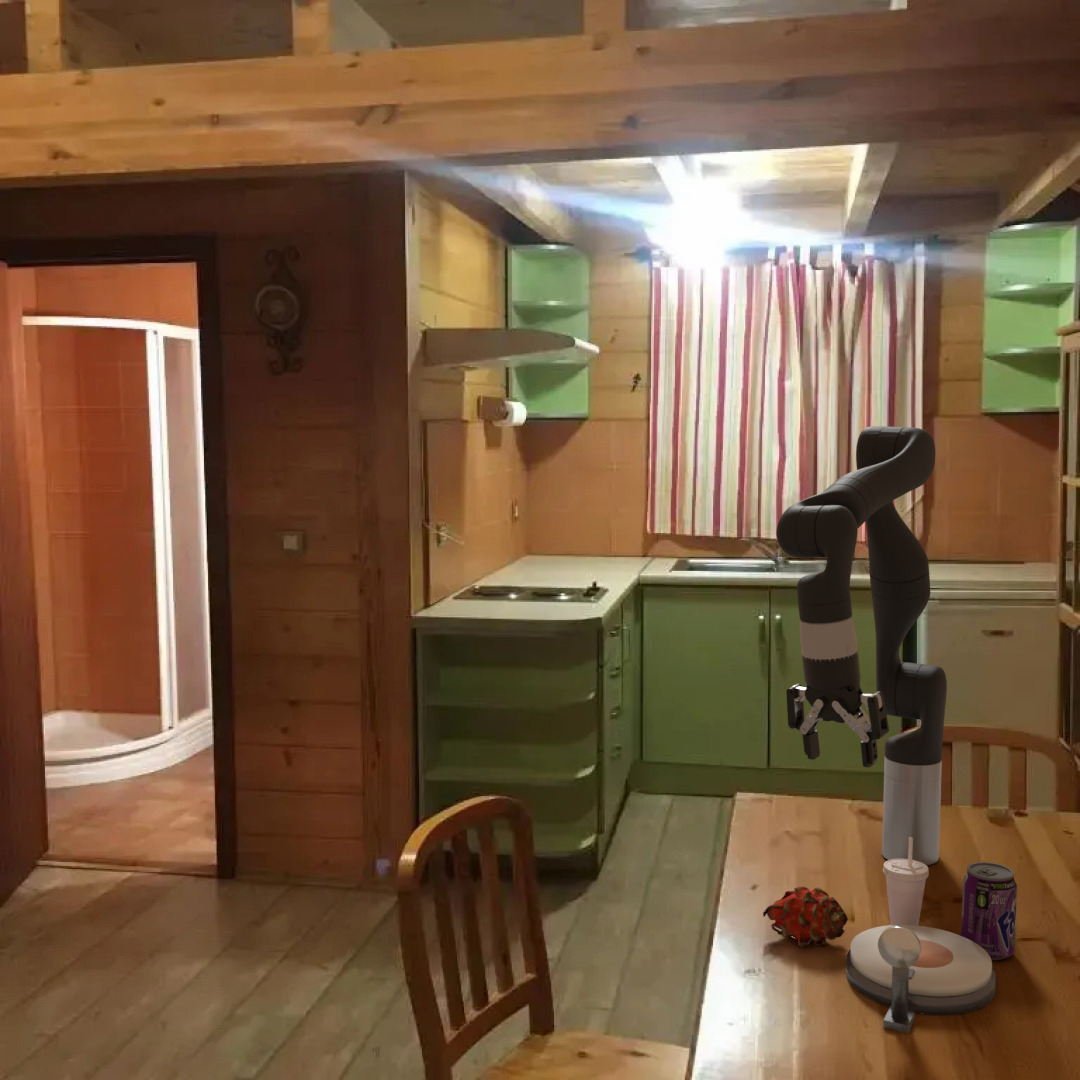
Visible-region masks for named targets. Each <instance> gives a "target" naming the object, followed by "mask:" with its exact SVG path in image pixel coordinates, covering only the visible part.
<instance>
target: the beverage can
mask: <svg viewBox="0 0 1080 1080" xmlns="http://www.w3.org/2000/svg"><path fill="white" fill-rule="evenodd" d="M965 873H966V874H965V875H964V876H963V879H962V899H961V901H962V902H961V904H962V905H961V924H960V925H961V928H960V931H961V932H960V936H962V937H965V938H967V939H969V940H971V941H973V942H974V943H976V944H978V945H979V946H981V947H982V948H983V949H984V950H985V951H986V952H987V953H988V954H989V956H990V958H991V961H999V960H1003V959H1005V958H1009V957H1012V956H1013V955H1014V954H1015V946H1016V923H1017V895H1018V885H1017V882H1016V880H1015V872H1014V870H1013V869H1012V868H1010V867H1008V866H1006V865H1003V864H1000V863H995V862H989V861H979V862H972V863H970V864H968V865H967V867H966V872H965Z"/></svg>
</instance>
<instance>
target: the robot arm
mask: <svg viewBox="0 0 1080 1080" xmlns="http://www.w3.org/2000/svg"><path fill="white" fill-rule="evenodd" d="M932 436H933V435H931V434H930V432H928V431H927V430H925V429H922V428H920V427H909V426H908V427H907V426H906V427H903V426H883V425H880V426H879V425H877V426H876V425H875V426H868V427H865V428H864V429H862V430H861V432H860V434H859V435H858V437H857V442H856V448H855V449H856V450H855V463H856V470H853V471H850V472H848V473H846V474H843V475H842V476H841V477H839V478H837V479H836V480H835V481H834V482H833V483H831V484H830V485H829V486H828V487H827V488H826V489H825V490H823V491H822V492H820V493H816V494H815V495H812V496H809V497H807V498H804V499H802V500H800V501H797V502H796V503H794V504H792V505H791V506H789V507H788V508H786V509H785V510H784V512H782V515H781V516H780V517H779V519H778V522H777V526H776V531H775V532H776V533H775V534H776V541H777V543H778V545H779V547H780V548H781V550H782V551H783V552H784V553H785V554H786V555H788V556H790V557H793V558H799V559H809V558H811V559H812V558H814V559H817V558H818V559H819V558H821V559H826V566H825V568H824V570H822V571H818V572H815V573H810V574H806V575H804V576H802V577H800V579H799V580H798V581H797V584H796V595H797V596H796V597H797V606H798V615H799V640H800V644H799V645H800V652H801V658H802V659H801V661H802V667H803V669H802V670H803V678H804V682H805V684H806V687H804V686H802V684H801V683H796V684H794V685H792V686H790V687H789V688H787V689H786V691H785V692H786V707H787V708H786V709H787V711H786V712H787V724H788V727H789V728H790V729H791V730H792V729H793V730H794V729H796V730H798V731H799V732H800V734H802V742H803V751H804V754H805V755H806V756H807V759H808V760H811V761H814V760H816V759H817V758H818V757H820V754H821V752H820V742H819V741H820V740H819V731H818V730H817V729H816V728H817V726H818V724H819V723H820V721H821V720H822V721H824V722H833V721H834V722H836V723H839V724H844V723H845V724H846V725H847V726H848V728H849V729H850V730H852V731H854V732H855V734H857V736H858V737H859V738H860V740H861V741H860V750H861V751H860V753H861V758H862V759H861V760H862V761H861V762H862V767H863V768H871V767H872V766H873V765H874V764H875V763H876V762H877V761H878V757H879V756H878V744H877V740H880V739H882V738H883V737H884V736H886V735H887V734H889V732H890V727H889V726H890V725H889V722H888V716H891V717H895V718H897V717H898V718H906V719H914V720H920V726H919V728H917V729H915V730H913V731H912V730H911V731H908V732H904V733H898V734H895V735H892V736H890V737H888V738H887V739H886V741H885V743H884V760H883V762H884V768H883V772H884V773H883V798H882V799H883V802H882V803H883V804H882V805H883V807H882V838H881V839H882V841H881V842H882V843H881V848H882V849H881V855H882V857H883V858H885V859H886V860H887V861H888V860H891V859H908V848H909V837H912V838H913V847H912V860H915V861H919V862H921V863H923V864H925V865H926V866H929V865H933V864H936V863H937V862H938V861H939V857H940V856H939V855H940V854H939V853H940V851H939V850H940V833H941V832H940V831H941V830H940V829H941V799H942V798H941V797H942V767H943V766H942V765H943V744H944V743H943V742H944V731H945V730H944V726H945V725H944V724H945V715H946V714H945V713H946V705H947V703H946V702H947V695H948V694H947V693H948V692H947V690H948V684H947V682H948V681H947V675H946V672H945V670H944V668H942V667H940V666H938V665H933V664H923V663H915V662H905V661H902V660H901V658H900V651H901V649H900V648H901V647H902V646H901V645H902V643H903V642H904V640H905V638H906V636H907V634H908V632H910V629H911V628H912V627H913V625H914V624H915V623H916V621H917V620H918V619H919V618H920V616H921V615H922V614H923V612H924V610H925V609H926V607H927V605H928V603H929V601H930V597H931V580H930V564H929V563H930V562H929V557H928V555H927V553H926V550H925V549H924V547H923V546H922V544H921V542H920V541H919V540H918V538H917V537H916V536H915V534H914V533H913V532H912V530H911V529H910V527H909V526H908V525H907V524H906V523H905V521H904V520H903V518H902V517H901V516H900V514H899V512H898V511H897V508H896V506H895V503H894V501H895V500H896V499H899V498H900V497H902V496H905V494H907V493H909V492H912V491H914V490H917V489H918V488H920V487H921V486H923V485H924V484H926V482H928V480H929V479H930V478H931V475H932V474H933V472H934V469H935V464H936V445H935V440H934V438H933V437H932ZM864 523H865V525H866V537H867V550H868V552H867V553H868V572H869V581H870V582H869V583H870V593H871V602H872V608H873V611H872V612H873V618H874V620H873V621H874V628H875V656H876V657H875V667H876V668H875V669H876V670H875V671H876V672H875V680H876V681H875V682H876V683H875V684H876V692H874V693H864V692H863V690H862V688H861V668H860V660H859V658H860V657H859V650H858V640H857V630H856V626H855V622H854V618H853V609H852V599H851V598H852V597H851V588H850V587H851V586H850V585H851V575H852V568H853V562H854V561H853V560H854V555H855V550H856V546H857V540H858V533H859V532H858V531H859V530H858V529H859V528H860V527H861V526H863V524H864ZM805 700H807V702H808V703H809V705H810V706H811V708H810V710H809V712H808V713H807V715H806V716H805V709H804V708H805V706H804V701H805ZM863 704H864V706H865V710H867V711H868V714H867V713H866V711H865V710H864V709H863V708H862V705H863ZM855 716H856V717H857V719H856V718H855ZM815 729H816V730H815Z"/></svg>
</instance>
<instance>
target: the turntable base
mask: <svg viewBox="0 0 1080 1080" xmlns="http://www.w3.org/2000/svg"><path fill="white" fill-rule="evenodd" d="M850 951H851V948H849V950H848V951H847V954H846V960H845V961H846V963H845V964H846V965H845V968H846V969H845V974H846V977H847V980H848V982H849V984H850V985H851V987H853V988H854V989H855V991H857V992H859V993H860V994H861V993H862V996H864V995H865V997H866V996H867V997H866V998H868V999H869V998H870V1000H872V1001H874V1002H876V1003H878V1004H880V1003H881V1004H880V1005H883V1006H886V1007H889V1008H890V1006H891V997H892V989H890V988H887V987H885V986H882V985H879V984H877V983H875V982H873V981H871V980H869V979H868V978H866V977H865V976H863V975H862V974H860V973H859V972H858V971H857V970H856V969H855V967H854V966H853V964H852V962H851V959H850ZM995 994H996V971H995V969H994V968H993V967H992V975H991V979H990V981H989V983H988V984H987V985H986V986H984V987H983V988H981V989H979V990H977V991H975V992H972V993H968V994H964V995H957V996H945V997H942V996H923V995H915V994H910V993H908V1010H911V1011H915V1014H920V1013H923V1014H922V1015H929V1014H930V1015H931V1016H932V1015H933V1016H950V1015H951V1016H952V1015H962V1014H965V1013H971V1012H974V1011H977V1010H980V1009H982V1008H984V1007H985V1006H987V1005H988V1004H990V1002H991V1001H992V1000H993V998H995Z"/></svg>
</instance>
